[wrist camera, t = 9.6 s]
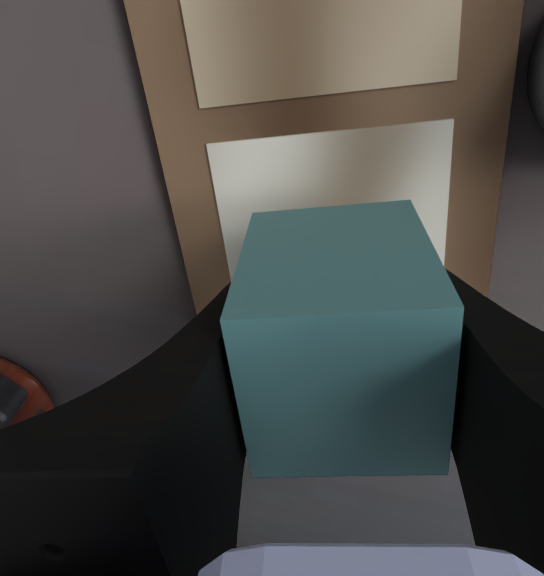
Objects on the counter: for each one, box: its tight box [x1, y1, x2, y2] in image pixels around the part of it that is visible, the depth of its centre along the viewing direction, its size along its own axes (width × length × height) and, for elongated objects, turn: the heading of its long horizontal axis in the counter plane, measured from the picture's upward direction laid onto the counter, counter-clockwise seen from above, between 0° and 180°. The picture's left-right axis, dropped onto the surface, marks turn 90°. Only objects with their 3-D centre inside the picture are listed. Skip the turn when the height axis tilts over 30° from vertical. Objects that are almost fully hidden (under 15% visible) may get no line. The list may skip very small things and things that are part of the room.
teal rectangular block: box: [220, 200, 464, 478], centre depth 11 cm, size 4×4×5 cm
